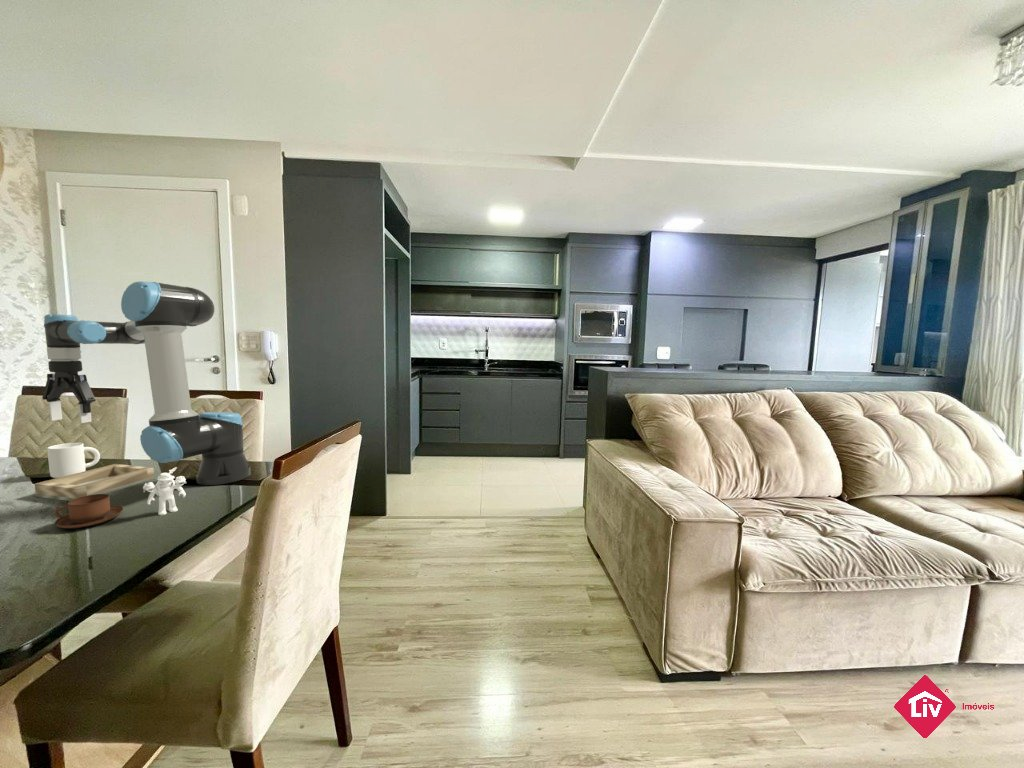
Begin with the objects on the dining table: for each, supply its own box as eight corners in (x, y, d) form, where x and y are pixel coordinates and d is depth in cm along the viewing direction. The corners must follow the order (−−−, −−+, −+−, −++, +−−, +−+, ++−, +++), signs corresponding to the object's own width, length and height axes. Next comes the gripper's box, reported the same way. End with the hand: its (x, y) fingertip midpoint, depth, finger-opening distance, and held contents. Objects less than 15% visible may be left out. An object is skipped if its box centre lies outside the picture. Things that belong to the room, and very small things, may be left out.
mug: (101, 466, 143) (99, 439, 142) (101, 472, 138) (98, 444, 136) (51, 474, 135) (48, 445, 134) (48, 480, 129) (45, 450, 128)
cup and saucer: (57, 537, 92) (55, 513, 92) (53, 523, 100) (51, 500, 99) (127, 520, 102) (125, 498, 101) (119, 508, 109) (117, 487, 109)
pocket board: (154, 479, 132) (153, 467, 131) (78, 502, 112) (77, 488, 112) (116, 474, 135) (115, 463, 135) (36, 496, 116) (34, 483, 115)
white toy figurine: (185, 504, 112) (183, 464, 111) (190, 508, 109) (187, 467, 108) (143, 515, 104) (140, 472, 103) (147, 519, 102) (144, 475, 101)
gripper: (106, 360, 133) (111, 421, 135) (52, 358, 138) (58, 417, 140) (78, 361, 126) (84, 425, 128) (22, 359, 131) (29, 420, 133)
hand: (70, 421), depth 134 cm, fingers open, 13 cm apart
